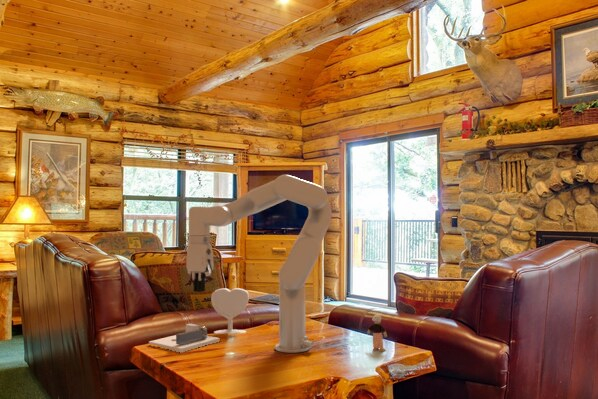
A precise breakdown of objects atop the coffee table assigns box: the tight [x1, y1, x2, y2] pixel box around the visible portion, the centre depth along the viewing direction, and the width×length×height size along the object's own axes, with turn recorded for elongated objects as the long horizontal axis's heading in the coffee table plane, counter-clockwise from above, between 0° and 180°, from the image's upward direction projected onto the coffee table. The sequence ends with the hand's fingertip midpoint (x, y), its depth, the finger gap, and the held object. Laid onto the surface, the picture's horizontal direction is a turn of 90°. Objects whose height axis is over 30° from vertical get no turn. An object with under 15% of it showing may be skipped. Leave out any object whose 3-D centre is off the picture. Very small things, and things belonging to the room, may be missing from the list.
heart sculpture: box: [210, 287, 250, 334], centre depth 206 cm, size 16×5×18 cm, turn 91°
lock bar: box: [175, 326, 208, 345], centre depth 183 cm, size 14×3×4 cm, turn 144°
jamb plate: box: [148, 323, 221, 354], centre depth 186 cm, size 18×19×6 cm
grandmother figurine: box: [366, 313, 388, 352], centre depth 175 cm, size 8×4×13 cm, turn 65°
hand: (199, 291), depth 177 cm, fingers closed
